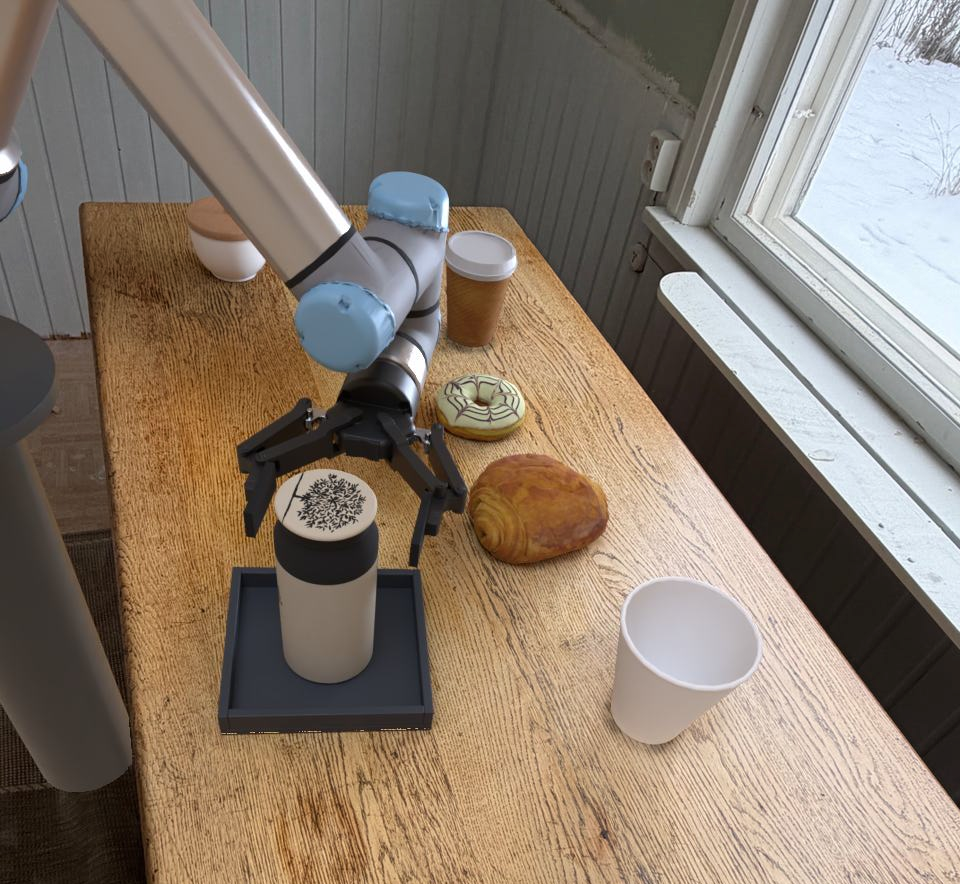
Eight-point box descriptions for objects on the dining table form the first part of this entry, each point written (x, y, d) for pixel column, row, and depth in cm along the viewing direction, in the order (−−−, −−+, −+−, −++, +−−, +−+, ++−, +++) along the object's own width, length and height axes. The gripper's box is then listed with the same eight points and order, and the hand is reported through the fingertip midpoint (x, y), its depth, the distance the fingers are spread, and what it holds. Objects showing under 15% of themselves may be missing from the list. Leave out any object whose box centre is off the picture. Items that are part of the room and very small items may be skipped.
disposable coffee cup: (517, 338, 111) (534, 252, 102) (472, 362, 106) (485, 274, 97) (467, 307, 114) (478, 221, 105) (420, 329, 109) (428, 240, 100)
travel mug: (385, 631, 75) (395, 483, 61) (353, 696, 70) (357, 552, 56) (305, 605, 76) (297, 454, 62) (268, 669, 71) (251, 520, 57)
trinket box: (177, 265, 111) (166, 194, 103) (240, 244, 117) (234, 175, 109) (227, 299, 107) (219, 228, 100) (289, 276, 113) (286, 207, 106)
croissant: (615, 565, 89) (645, 511, 83) (495, 586, 82) (520, 528, 76) (553, 479, 96) (577, 424, 90) (438, 491, 89) (456, 432, 83)
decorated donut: (427, 394, 100) (430, 367, 97) (509, 393, 103) (514, 367, 100) (443, 447, 94) (446, 421, 91) (530, 444, 97) (536, 418, 94)
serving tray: (221, 735, 67) (217, 717, 65) (235, 586, 77) (232, 566, 75) (430, 730, 70) (433, 712, 68) (418, 587, 80) (420, 568, 78)
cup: (568, 739, 72) (604, 655, 62) (601, 645, 79) (638, 557, 69) (696, 789, 70) (753, 711, 61) (718, 688, 78) (772, 604, 68)
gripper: (501, 446, 82) (475, 598, 69) (259, 400, 81) (186, 545, 68) (513, 382, 76) (488, 535, 63) (253, 332, 76) (172, 476, 62)
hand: (331, 541), depth 66 cm, fingers open, 13 cm apart
